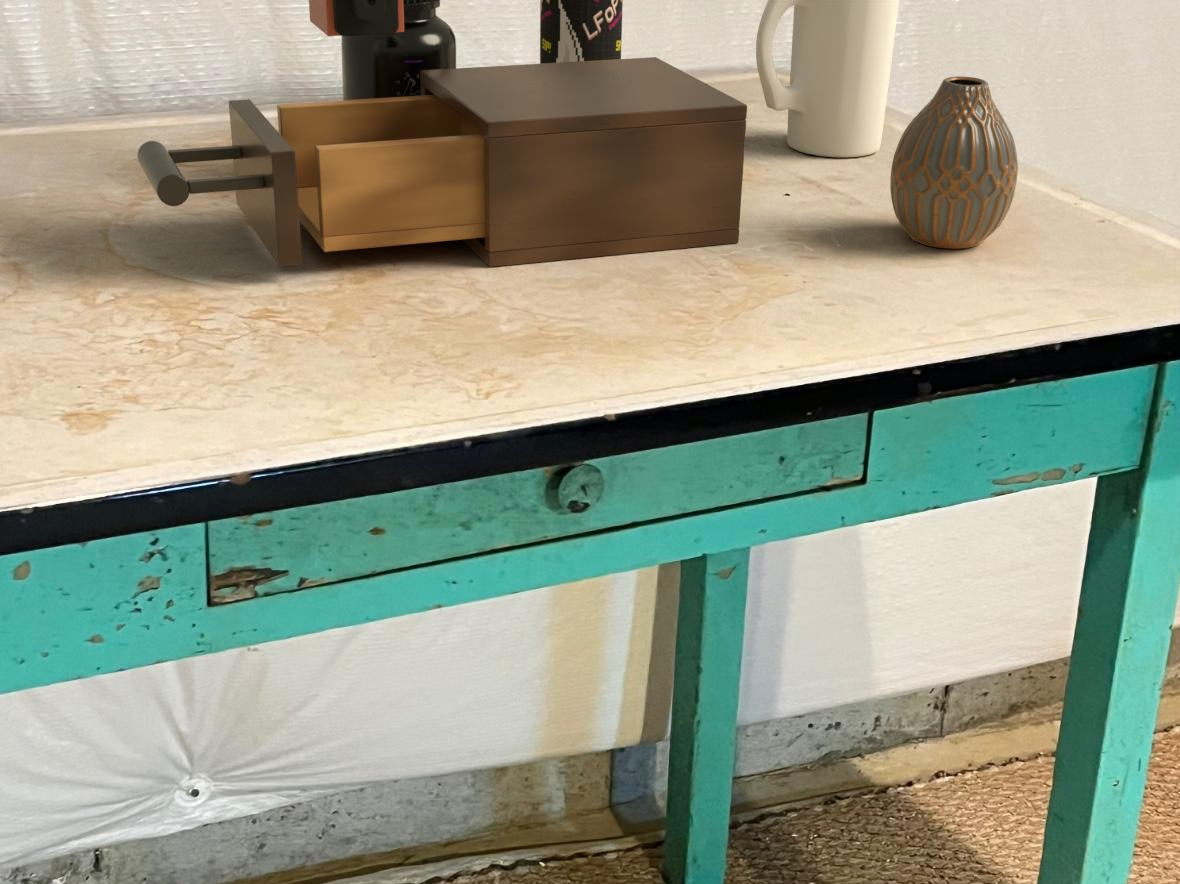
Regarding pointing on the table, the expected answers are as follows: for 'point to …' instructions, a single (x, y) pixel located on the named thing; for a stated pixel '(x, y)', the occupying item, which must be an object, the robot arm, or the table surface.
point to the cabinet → (599, 157)
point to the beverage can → (580, 30)
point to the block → (324, 16)
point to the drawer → (342, 173)
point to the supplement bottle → (398, 55)
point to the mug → (831, 73)
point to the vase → (954, 168)
